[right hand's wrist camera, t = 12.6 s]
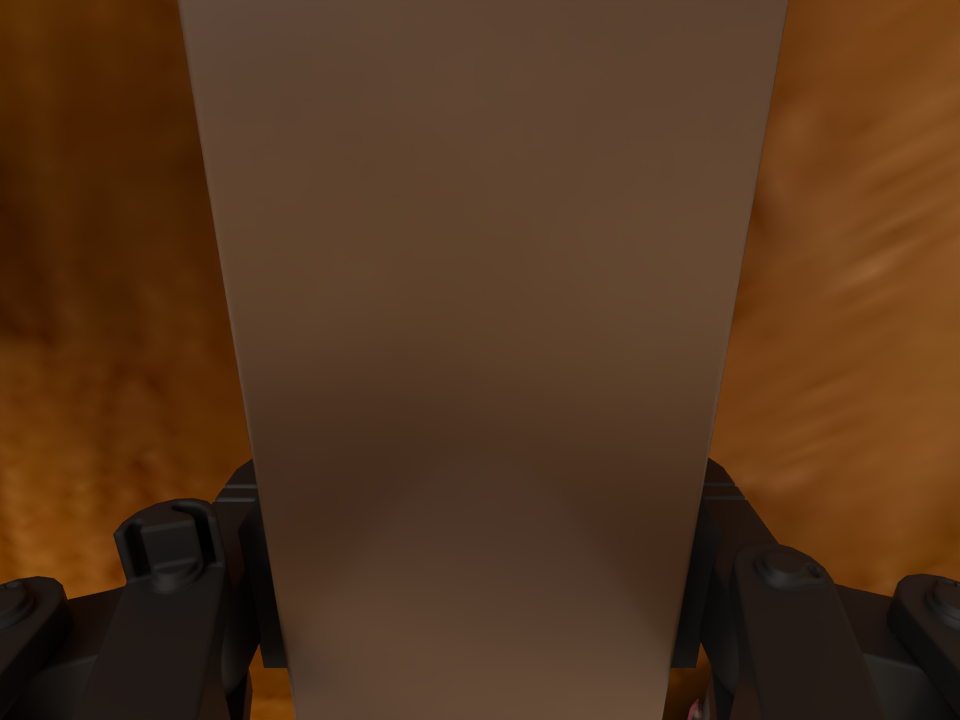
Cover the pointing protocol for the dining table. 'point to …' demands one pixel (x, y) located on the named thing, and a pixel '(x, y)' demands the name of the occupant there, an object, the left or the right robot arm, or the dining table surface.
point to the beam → (480, 329)
